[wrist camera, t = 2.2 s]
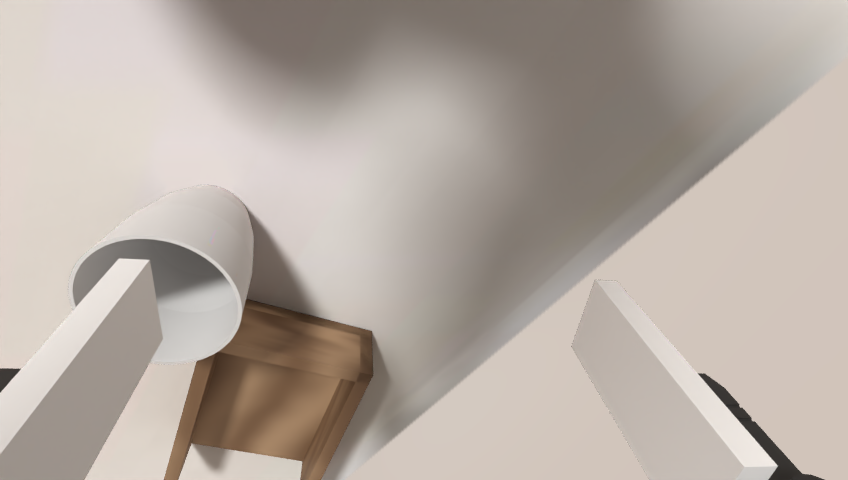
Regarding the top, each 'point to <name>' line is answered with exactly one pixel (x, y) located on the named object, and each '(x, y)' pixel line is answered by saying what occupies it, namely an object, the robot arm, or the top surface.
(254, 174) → the top surface
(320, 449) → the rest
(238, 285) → the cup
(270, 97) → the top surface
